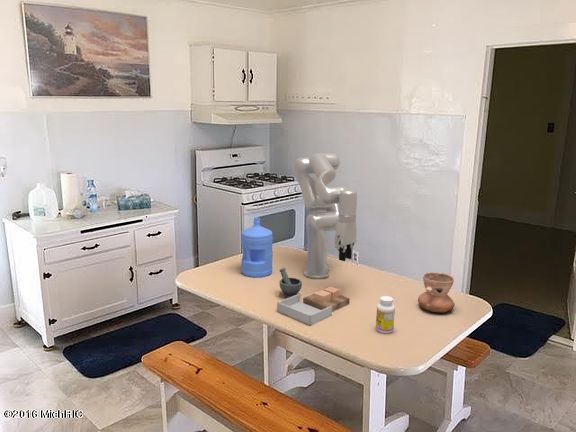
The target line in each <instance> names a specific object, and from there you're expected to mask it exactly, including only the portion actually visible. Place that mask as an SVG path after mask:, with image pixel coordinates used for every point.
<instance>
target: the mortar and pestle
mask: <svg viewBox="0 0 576 432" xmlns="http://www.w3.org/2000/svg"><path fill="white" fill-rule="evenodd" d="M279 272H280V275H281V277H282V278H281V279H280V280H279V288H280V290H281V292H282V295H283V298H284V299H287V298H290V297H292V296H295V295H297V294H299V292H300V291H301V289H302V285H303V282H302V280H301V279H300V278H296V277H289V276H288V273H287V270H286V267H282V268H280V269H279Z"/></svg>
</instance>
